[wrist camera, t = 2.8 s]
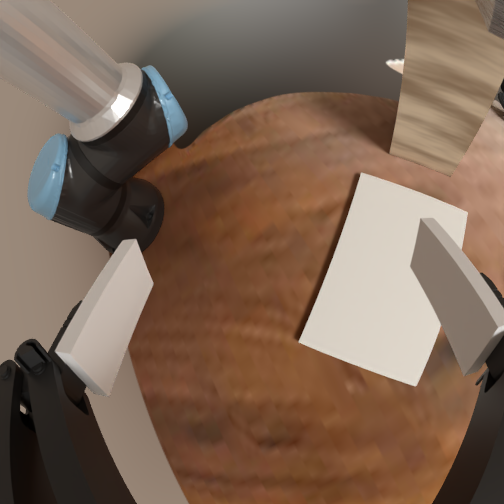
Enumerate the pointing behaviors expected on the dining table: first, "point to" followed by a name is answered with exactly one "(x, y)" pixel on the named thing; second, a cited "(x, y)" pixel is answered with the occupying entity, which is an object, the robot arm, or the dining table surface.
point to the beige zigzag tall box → (445, 82)
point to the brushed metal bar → (493, 15)
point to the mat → (380, 283)
